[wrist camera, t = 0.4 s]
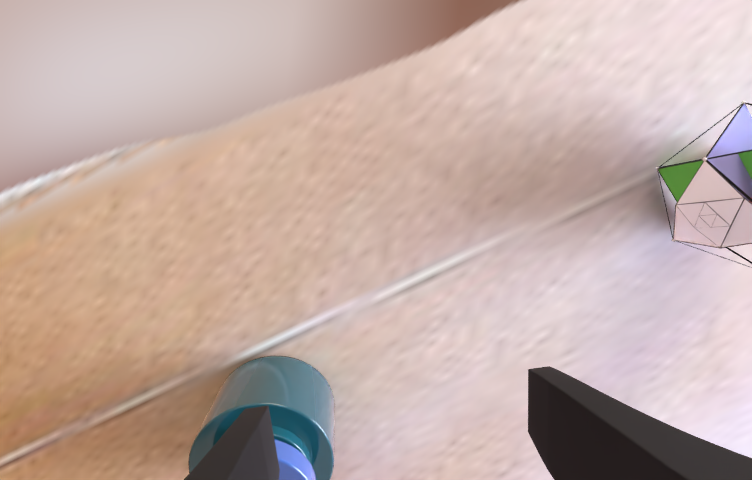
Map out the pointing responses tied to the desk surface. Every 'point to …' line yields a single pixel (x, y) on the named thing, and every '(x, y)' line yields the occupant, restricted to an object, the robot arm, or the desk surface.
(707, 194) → the geometric puzzle
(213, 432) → the ink bottle
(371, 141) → the desk surface
